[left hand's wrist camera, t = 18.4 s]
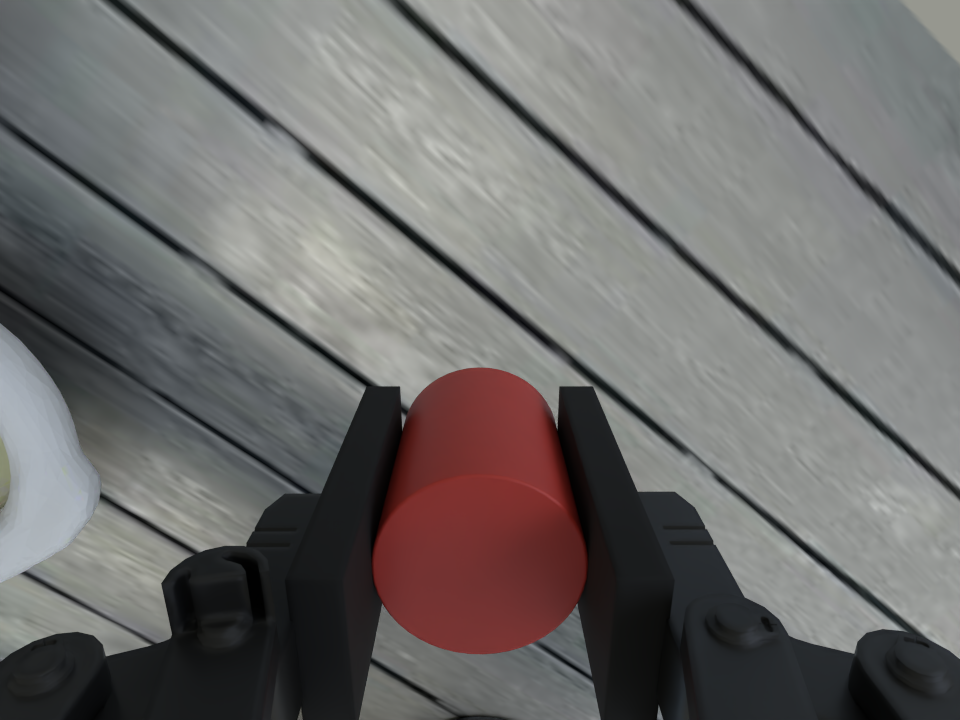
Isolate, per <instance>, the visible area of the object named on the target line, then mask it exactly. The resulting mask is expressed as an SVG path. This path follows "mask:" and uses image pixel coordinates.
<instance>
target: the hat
mask: <svg viewBox="0 0 960 720" xmlns="http://www.w3.org/2000/svg"><path fill="white" fill-rule="evenodd" d="M100 490H101V480H100V474H99V473H98V472H97V470H96V469H95V468H94V466H93V465H92V464H91V462H90V461H89V460H88V458H87V457H86V456H85V454H84V453H83V451H82V449H81V446H80V444H79V440H78V437H77V433H76V429H75V425H74V422H73V419H72V417H71V414H70V411H69V409H68V407H67V405H66V403H65V401H64V399H63V397H62V395H61V392H60V391H59V389H58V388H57V386H56V384H55V383H54V381H53V380H52V378H51V377H50V375H49V374H48V373H47V371H46V370H45V369H44V367H43V366H42V365H41V363H40V362H39V361H38V360H37V358H36V357H35V356H34V355H33V354H32V353H31V352H30V351H29V350H28V348H27V347H26V346H25V345H24V344H23V343H22V342H21V341H20V340H19V339H18V338H17V337H16V336H15V335H13V334H12V333H11V332H10V331H9V330H8V329H6V328H5V327H4V326H3V325H2V324H0V509H1V508H2V507H3V506H4V505H5V506H4V509H3V510H2V512H1V513H0V583H1V582H3V581H5V580H7V579H9V578H12V577H14V576H16V575H18V574H20V573H22V572H24V571H26V570H27V569H29V568H31V567H32V566H34V565H36V564H38V563H40V562H42V561H44V560H46V559H48V558H49V557H51V556H52V555H53V554H55V553H57V552H58V551H60V550H62V549H64V548H65V547H67V546H68V545H69V544H71V543H72V541H73V540H74V539H75V538H76V536H77V535H78V534H79V533H80V531H81V530H82V529H83V527H84V526H85V525H86V524H87V522H88V521H89V520H90V518H91V516H92V515H93V513H94V511H95V509H96V507H97V505H98V502H99V497H100Z"/></svg>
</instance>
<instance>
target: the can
mask: <svg viewBox="0 0 960 720" xmlns="http://www.w3.org/2000/svg"><path fill="white" fill-rule="evenodd" d="M371 560H372V575H373V581H374V585H375V587H376V590H377V593H378V595H379V597H380V599H381V601H382V603H383V605H384V607H385V608H386V609H387V611H388V612H389V614H390V615H391V616H392V617H393V618H394V619H395V620H396V621H397V622H398V624H400V625H401V626H402V627H403V628H404V629H406V630H407V631H408V632H409V633H411V634H413V635H414V636H416V637H417V638H419V639H421V640H423V641H425V642H427V643H429V644H431V645H434V646H436V647H439V648H442V649H446V650H450V651H454V652H460V653H467V654H492V653H500V652H506V651H510V650H514V649H517V648H521V647H523V646H526V645H528V644H531V643H533V642H535V641H537V640H539V639H541V638H543V637H544V636H546V635H547V634H549V633H550V632H551V631H553V630H554V629H556V628H557V627H558V626H559V625H560V624H561V623H562V622H563V621H564V620H565V619H566V618H567V617H568V616H569V614H570V613H571V612H572V611H573V609H574V607H575V606H576V604H577V603H578V601H579V599H580V597H581V594H582V592H583V590H584V587H585V583H586V580H587V571H588V552H587V547H586V542H585V538H584V534H583V531H582V527H581V523H580V519H579V515H578V511H577V507H576V503H575V499H574V495H573V491H572V487H571V483H570V479H569V475H568V471H567V467H566V463H565V459H564V455H563V451H562V447H561V443H560V439H559V436H558V432H557V428H556V424H555V420H554V417H553V414H552V411H551V409H550V408H549V406H548V404H547V402H546V401H545V399H544V398H543V397H542V395H541V394H540V393H539V392H538V391H537V390H536V389H535V388H534V387H533V386H531V385H530V384H529V383H528V382H526V381H524V380H523V379H521V378H519V377H518V376H515V375H513V374H511V373H508V372H505V371H502V370H498V369H491V368H467V369H463V370H458V371H455V372H452V373H449V374H447V375H445V376H442V377H440V378H438V379H437V380H435V381H434V382H432V383H431V384H430V385H428V386H427V387H426V388H425V389H424V390H423V391H422V392H421V393H420V394H419V395H418V396H417V398H416V399H415V401H414V402H413V404H412V405H411V407H410V409H409V411H408V414H407V417H406V420H405V423H404V427H403V431H402V435H401V439H400V443H399V447H398V451H397V455H396V459H395V463H394V466H393V470H392V474H391V478H390V482H389V486H388V490H387V494H386V498H385V502H384V506H383V510H382V514H381V518H380V521H379V525H378V529H377V533H376V537H375V541H374V545H373V551H372V558H371Z"/></svg>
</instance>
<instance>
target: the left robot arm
mask: <svg viewBox="0 0 960 720" xmlns="http://www.w3.org/2000/svg"><path fill="white" fill-rule="evenodd" d="M557 432H558V436H559V439H560V443H561V447H562V451H563V455H564V459H565V463H566V467H567V471H568V475H569V479H570V483H571V487H572V491H573V495H574V499H575V503H576V507H577V511H578V515H579V519H580V523H581V527H582V531H583V534H584V538H585V542H586V547H587V552H588V571H587V580H586V583H585V587H584V590H583V592H582V594H581V597H580V599H579V601H578V608H579V613H580V618H581V623H582V628H583V633H584V638H585V643H586V648H587V653H588V658H589V663H590V668H591V673H592V678H593V683H594V688H595V693H596V698H597V703H598V708H599V713H600V717H601V720H657V713H658V706H659V707H660V710H661V713H662V717H663V720H960V659H959V658H958V657H956V656H955V655H954V654H953V653H951V652H950V651H949V650H947V649H945V648H943V647H941V646H939V645H937V644H936V643H934V642H932V641H930V640H928V639H926V638H923V637H920V636H917V635H914V634H910V633H907V632H904V631H895V630H885V629H882V630H877V631H873V632H869V633H866V634H865V635H864V636H863V637H862V638H861V639H860V640H859V641H858V642H857V646H856V650H855V654H852V653H848V652H844V651H840V650H835V649H831V648H827V647H823V646H818V645H814V644H810V643H807V642H804V641H801V640H798V639H795V638H792V637H790V636H789V635H788V633H787V632H786V630H785V628H784V627H783V625H782V623H781V622H780V620H779V619H778V618H777V617H775V616H774V615H773V614H772V613H771V612H770V611H768V610H767V609H766V608H765V607H763V606H761V605H759V604H757V603H755V602H753V601H751V600H749V599H747V598H745V597H744V595H743V594H742V592H741V590H740V588H739V586H738V585H737V583H736V581H735V579H734V577H733V576H732V574H731V572H730V570H729V568H728V567H727V565H726V563H725V561H724V559H723V558H722V556H721V554H720V552H719V550H718V549H717V547H716V545H714V544H713V540H712V538H711V536H710V534H709V532H708V531H707V529H705V525H704V523H703V522H702V520H701V518H700V516H699V514H698V513H697V511H696V509H695V507H693V506H692V505H691V504H690V503H688V502H687V501H686V500H685V499H683V498H682V497H681V496H679V495H678V494H677V493H676V492H637V490H636V487H635V485H634V482H633V480H632V478H631V475H630V473H629V471H628V468H627V466H626V464H625V461H624V459H623V457H622V454H621V452H620V449H619V447H618V445H617V442H616V440H615V438H614V435H613V433H612V431H611V428H610V426H609V424H608V421H607V419H606V416H605V414H604V412H603V409H602V407H601V405H600V402H599V400H598V398H597V395H596V393H595V391H594V388H593V387H560V388H559V409H558V430H557ZM401 435H402V418H401V396H400V387H366V390H365V392H364V394H363V397H362V399H361V401H360V404H359V406H358V408H357V411H356V413H355V415H354V418H353V420H352V423H351V425H350V427H349V430H348V432H347V434H346V437H345V439H344V441H343V444H342V446H341V448H340V451H339V453H338V456H337V458H336V460H335V463H334V465H333V467H332V470H331V472H330V474H329V477H328V479H327V481H326V484H325V486H324V489H323V491H322V493H321V494H284V495H283V496H282V497H280V498H279V499H278V500H276V501H275V502H274V503H273V504H271V505H270V506H269V507H268V508H266V509H265V511H264V512H263V514H262V516H261V518H260V520H259V522H258V523H257V525H256V527H255V532H252V534H251V536H250V538H249V540H248V541H247V546H246V547H245V546H223V547H218V548H213V549H209V550H205V551H203V552H200V553H198V554H196V555H193V556H191V557H189V558H187V559H185V560H184V561H182V562H181V563H180V564H178V565H177V566H176V567H174V568H173V569H172V570H171V571H170V572H169V573H168V575H167V576H166V578H165V579H164V580H163V582H162V583H161V584H162V589H163V594H164V598H165V603H166V608H167V612H168V617H169V622H170V626H171V631H172V637H171V639H169V640H166V641H164V642H161V643H158V644H154V645H151V646H148V647H144V648H140V649H135V650H131V651H127V652H123V653H119V654H114V655H110V656H105V652H104V648H103V645H102V644H101V643H100V642H99V641H98V640H97V639H96V638H95V637H94V636H93V635H88V634H84V633H80V632H72V633H62V634H55V635H52V636H49V637H46V638H43V639H40V640H37V641H33V642H32V643H30V644H28V645H26V646H24V647H22V648H20V649H19V650H17V651H15V652H13V653H11V654H10V655H9V656H7V657H6V658H5V659H4V660H3V661H1V662H0V720H297V718H298V715H299V712H300V708H301V709H302V717H303V720H359V715H360V710H361V705H362V700H363V696H364V691H365V686H366V681H367V676H368V671H369V666H370V661H371V656H372V651H373V646H374V641H375V636H376V631H377V626H378V621H379V616H380V611H381V606H382V601H381V599H380V597H379V595H378V593H377V590H376V587H375V585H374V581H373V575H372V560H371V558H372V551H373V545H374V541H375V537H376V533H377V529H378V525H379V521H380V518H381V514H382V510H383V506H384V502H385V498H386V494H387V490H388V486H389V482H390V478H391V474H392V470H393V466H394V463H395V459H396V455H397V451H398V447H399V443H400V439H401ZM455 720H504V719H500V718H492V717H467V718H460V719H455Z"/></svg>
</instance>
